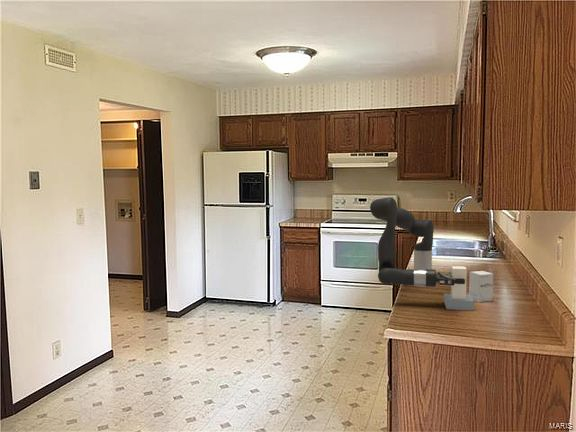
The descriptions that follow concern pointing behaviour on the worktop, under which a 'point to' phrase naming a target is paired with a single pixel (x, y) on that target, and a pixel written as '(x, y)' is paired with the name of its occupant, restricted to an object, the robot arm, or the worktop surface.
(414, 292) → the worktop surface
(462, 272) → the cream block
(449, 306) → the plinth
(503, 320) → the worktop surface
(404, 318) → the worktop surface
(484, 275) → the supplement box
